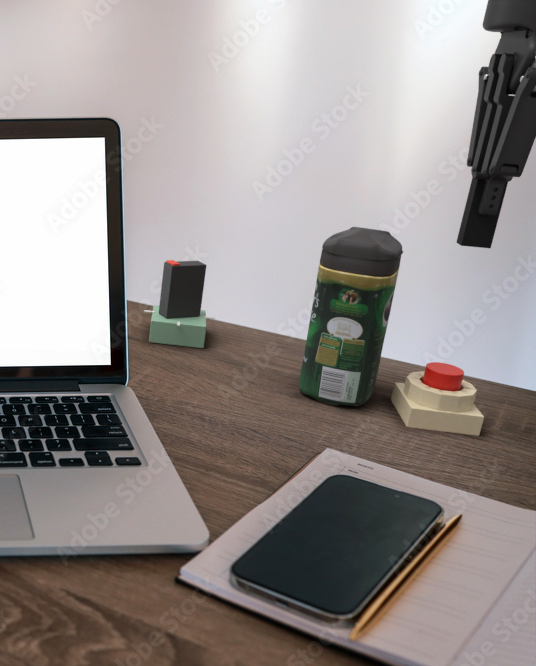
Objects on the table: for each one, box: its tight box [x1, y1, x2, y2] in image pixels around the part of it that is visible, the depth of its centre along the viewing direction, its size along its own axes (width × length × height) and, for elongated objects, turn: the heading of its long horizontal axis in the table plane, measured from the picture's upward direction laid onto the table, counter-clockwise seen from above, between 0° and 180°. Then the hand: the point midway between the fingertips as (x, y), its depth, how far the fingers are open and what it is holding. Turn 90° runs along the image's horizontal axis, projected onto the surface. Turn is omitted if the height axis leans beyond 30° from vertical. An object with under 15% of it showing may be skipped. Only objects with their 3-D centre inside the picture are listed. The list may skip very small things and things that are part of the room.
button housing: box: [390, 370, 485, 437], centre depth 82 cm, size 7×7×4 cm
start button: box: [422, 361, 465, 392], centre depth 81 cm, size 4×4×2 cm
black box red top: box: [158, 259, 207, 318], centre depth 101 cm, size 5×2×7 cm, turn 109°
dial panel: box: [143, 304, 216, 349], centre depth 102 cm, size 9×9×3 cm
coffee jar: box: [298, 226, 404, 407], centre depth 85 cm, size 10×8×19 cm
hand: (473, 245), depth 77 cm, fingers closed
